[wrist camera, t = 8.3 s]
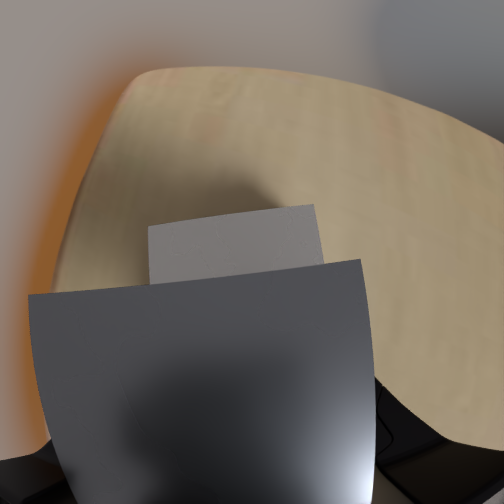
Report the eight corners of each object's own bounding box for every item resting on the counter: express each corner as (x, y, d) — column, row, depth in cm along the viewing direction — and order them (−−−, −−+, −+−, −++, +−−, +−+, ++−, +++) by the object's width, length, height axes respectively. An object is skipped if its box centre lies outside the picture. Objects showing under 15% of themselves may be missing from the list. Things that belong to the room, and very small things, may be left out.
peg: (295, 386, 14) (364, 543, 2) (209, 394, 14) (95, 534, 2) (285, 301, 15) (360, 259, 3) (198, 311, 16) (28, 295, 3)
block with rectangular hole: (323, 396, 16) (340, 420, 12) (191, 409, 16) (171, 434, 12) (302, 228, 19) (313, 204, 14) (173, 245, 19) (147, 226, 14)
